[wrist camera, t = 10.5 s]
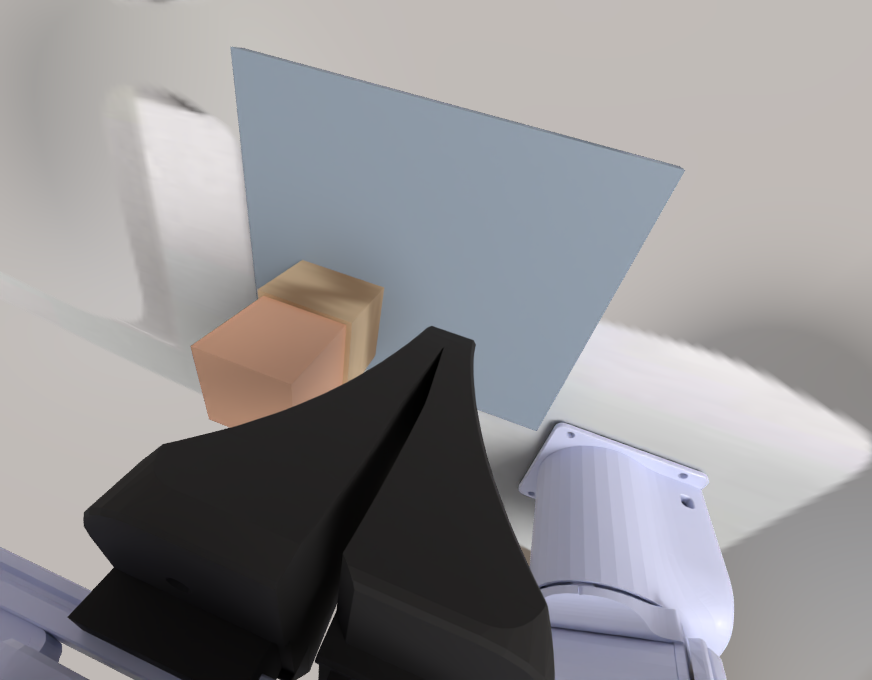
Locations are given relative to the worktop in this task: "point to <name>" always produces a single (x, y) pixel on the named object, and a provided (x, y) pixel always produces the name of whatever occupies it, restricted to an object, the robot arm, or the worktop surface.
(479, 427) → the robot arm
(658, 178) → the board
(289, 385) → the terracotta block
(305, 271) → the oak base block
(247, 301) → the worktop surface
